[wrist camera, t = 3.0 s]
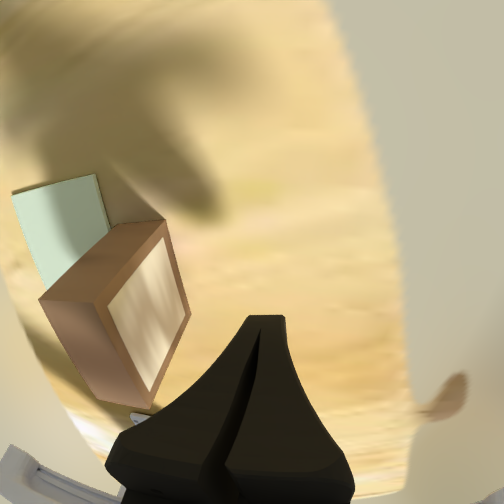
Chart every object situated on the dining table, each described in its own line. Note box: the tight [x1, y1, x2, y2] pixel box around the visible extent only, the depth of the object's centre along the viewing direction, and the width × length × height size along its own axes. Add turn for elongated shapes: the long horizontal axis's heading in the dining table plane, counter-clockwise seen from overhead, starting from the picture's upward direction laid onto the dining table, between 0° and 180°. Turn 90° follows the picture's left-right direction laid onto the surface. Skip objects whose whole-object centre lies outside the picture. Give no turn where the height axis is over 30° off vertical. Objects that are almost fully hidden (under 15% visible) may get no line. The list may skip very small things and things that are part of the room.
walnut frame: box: [38, 220, 191, 409], centre depth 15 cm, size 6×3×7 cm, turn 8°
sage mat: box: [11, 174, 111, 290], centre depth 18 cm, size 12×8×1 cm, turn 8°
